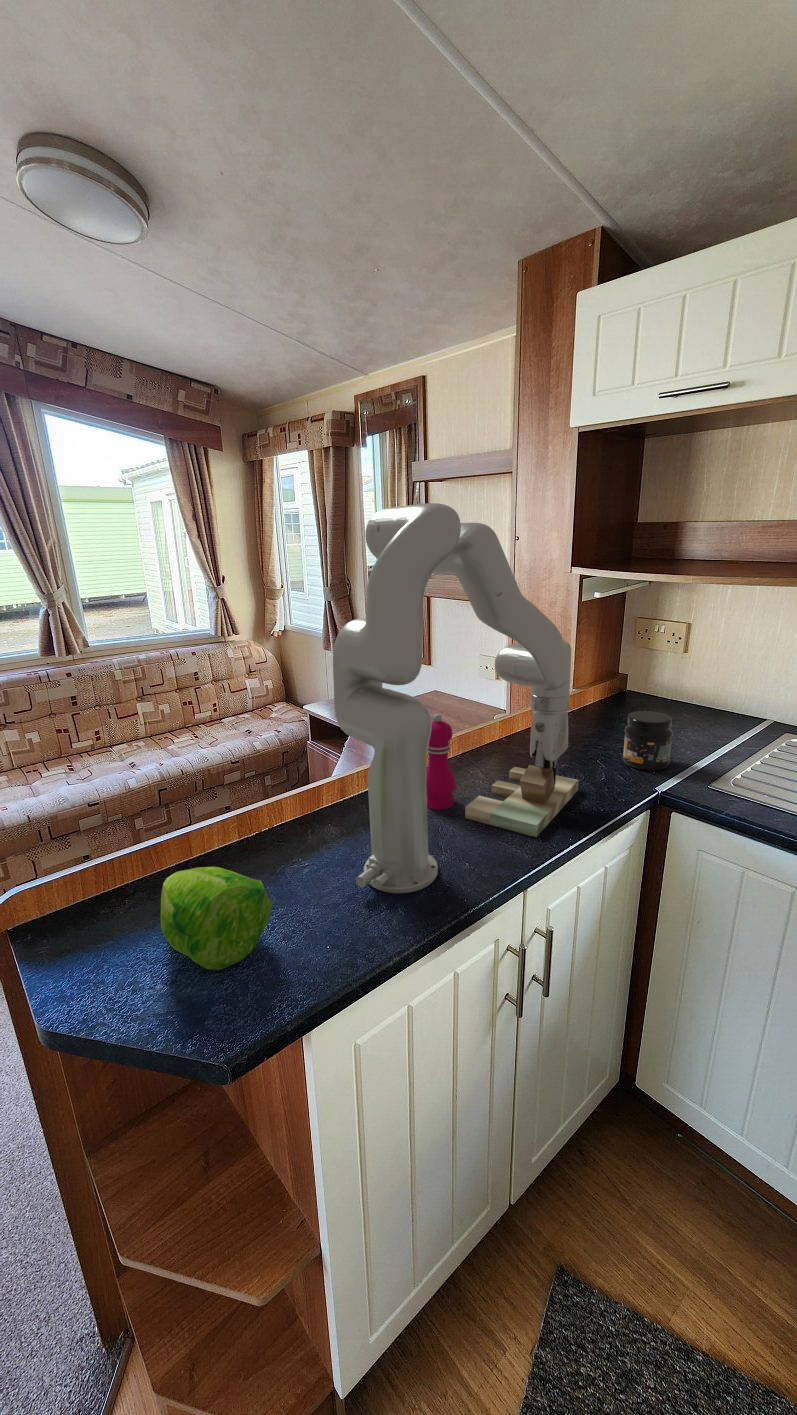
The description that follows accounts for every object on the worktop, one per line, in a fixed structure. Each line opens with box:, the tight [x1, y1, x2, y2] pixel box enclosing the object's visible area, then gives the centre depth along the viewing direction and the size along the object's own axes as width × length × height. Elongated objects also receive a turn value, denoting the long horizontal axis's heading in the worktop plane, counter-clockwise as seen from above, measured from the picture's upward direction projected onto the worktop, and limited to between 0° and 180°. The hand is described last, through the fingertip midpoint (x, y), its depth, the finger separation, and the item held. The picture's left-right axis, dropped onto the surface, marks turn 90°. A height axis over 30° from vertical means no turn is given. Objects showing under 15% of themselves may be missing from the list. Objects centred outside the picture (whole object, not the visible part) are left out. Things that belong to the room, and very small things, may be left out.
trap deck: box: [464, 766, 579, 838], centre depth 120 cm, size 24×15×2 cm, turn 145°
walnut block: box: [520, 764, 555, 804], centre depth 116 cm, size 5×5×5 cm
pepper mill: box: [426, 713, 457, 811], centre depth 119 cm, size 7×7×20 cm
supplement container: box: [622, 710, 674, 772], centre depth 137 cm, size 10×10×12 cm
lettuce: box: [160, 866, 274, 971], centre depth 80 cm, size 14×20×12 cm
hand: (546, 785), depth 120 cm, fingers closed
